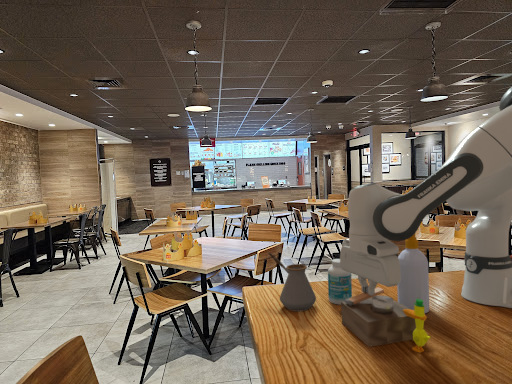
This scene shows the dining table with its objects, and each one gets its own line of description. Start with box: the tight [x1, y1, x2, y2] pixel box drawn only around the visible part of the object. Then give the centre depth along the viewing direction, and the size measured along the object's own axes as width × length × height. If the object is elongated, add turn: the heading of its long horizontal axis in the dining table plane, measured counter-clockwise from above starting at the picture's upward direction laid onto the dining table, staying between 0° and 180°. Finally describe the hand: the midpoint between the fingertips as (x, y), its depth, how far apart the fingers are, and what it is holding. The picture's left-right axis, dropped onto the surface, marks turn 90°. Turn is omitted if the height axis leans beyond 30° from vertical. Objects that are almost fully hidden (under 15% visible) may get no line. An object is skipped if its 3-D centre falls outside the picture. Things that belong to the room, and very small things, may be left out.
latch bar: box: [345, 286, 385, 306], centre depth 93 cm, size 11×3×1 cm, turn 103°
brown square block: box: [340, 297, 416, 347], centre depth 90 cm, size 14×14×6 cm
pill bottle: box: [327, 258, 353, 306], centre depth 111 cm, size 8×7×14 cm
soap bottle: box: [396, 233, 430, 314], centre depth 102 cm, size 9×9×24 cm
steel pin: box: [371, 294, 394, 315], centre depth 88 cm, size 5×5×8 cm
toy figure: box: [403, 299, 431, 354], centre depth 79 cm, size 7×4×12 cm, turn 32°
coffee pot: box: [266, 252, 317, 312], centre depth 113 cm, size 21×12×15 cm, turn 32°
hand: (368, 293), depth 93 cm, fingers closed, pressing on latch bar
